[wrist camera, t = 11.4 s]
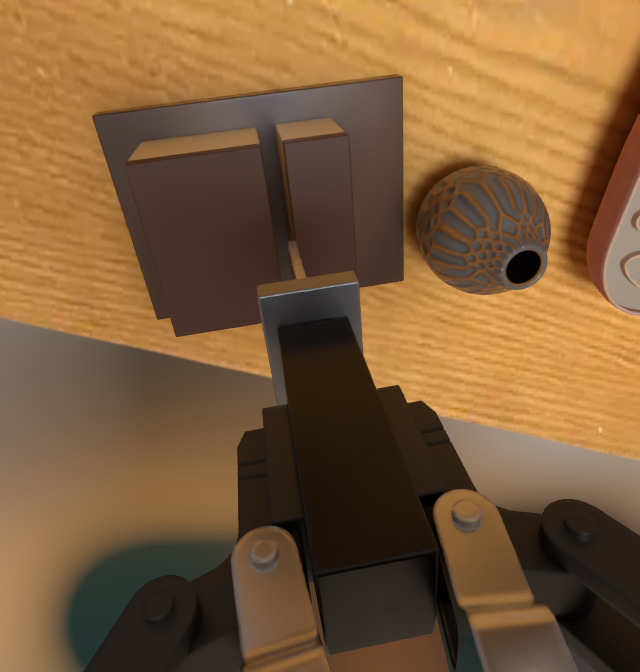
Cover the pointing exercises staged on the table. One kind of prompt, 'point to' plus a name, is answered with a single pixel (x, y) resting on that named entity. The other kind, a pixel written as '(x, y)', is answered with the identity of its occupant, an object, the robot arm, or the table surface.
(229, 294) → the cake
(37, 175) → the table surface
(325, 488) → the knife
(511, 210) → the vase
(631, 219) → the mitochondrion model
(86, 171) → the table surface
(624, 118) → the table surface
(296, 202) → the cake slice
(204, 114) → the cake board
